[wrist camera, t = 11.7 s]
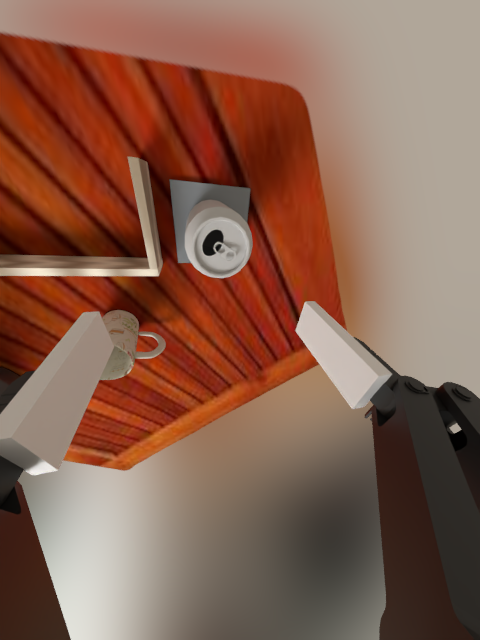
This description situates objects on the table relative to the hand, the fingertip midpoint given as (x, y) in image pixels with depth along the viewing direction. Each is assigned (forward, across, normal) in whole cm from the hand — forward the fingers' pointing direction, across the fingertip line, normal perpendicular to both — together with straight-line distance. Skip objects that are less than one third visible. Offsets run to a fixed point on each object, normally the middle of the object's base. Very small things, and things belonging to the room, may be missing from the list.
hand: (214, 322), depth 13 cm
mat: (+22, +2, +2) cm, 22 cm away
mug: (+22, -13, -16) cm, 30 cm away
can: (+22, +2, +2) cm, 22 cm away
